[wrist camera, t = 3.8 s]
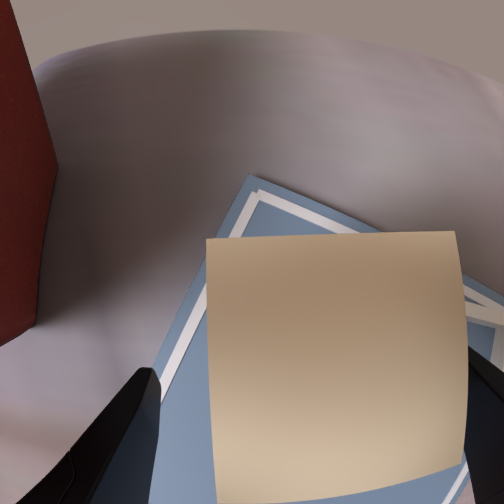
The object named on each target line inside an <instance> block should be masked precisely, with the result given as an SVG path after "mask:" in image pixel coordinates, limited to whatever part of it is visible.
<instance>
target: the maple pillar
mask: <svg viewBox="0 0 504 504" xmlns="http://www.w3.org/2000/svg"><path fill="white" fill-rule="evenodd" d="M206 294H207V340H208V369H209V392H210V412H211V429H212V444H213V459H214V472H215V484H216V495H217V504H267V503H285V502H298V501H308V500H317V499H324V498H332V497H338V496H344V495H350V494H356V493H361V492H366V491H371V490H375V489H380V488H384V487H388V486H392V485H396V484H400V483H403V482H407V481H411V480H414V479H417V478H421V477H424V476H427V475H430V474H433V473H436V472H439V471H442V470H445V469H448V468H450V467H453V466H456V465H458V464H461V462H462V455H463V447H464V439H465V429H466V416H467V399H468V339H467V321H466V308H465V298H464V289H463V280H462V273H461V266H460V259H459V253H458V247H457V241H456V236H455V231H423V232H381V233H346V234H315V235H287V236H261V237H237V238H214V239H206Z"/></svg>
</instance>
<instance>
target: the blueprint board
mask: <svg viewBox="0 0 504 504" xmlns="http://www.w3.org/2000/svg"><path fill="white" fill-rule="evenodd" d="M346 233H381V231H379V230H377V229H375V228H373V227H371V226H369V225H366V224H364V223H362V222H360V221H358V220H356V219H354V218H351V217H349V216H347V215H345V214H343V213H340V212H338V211H336V210H334V209H332V208H329V207H327V206H325V205H322V204H320V203H318V202H316V201H313V200H311V199H309V198H306V197H304V196H302V195H299V194H297V193H295V192H292V191H290V190H287V189H285V188H283V187H280V186H278V185H275V184H273V183H270V182H268V181H266V180H263V179H261V178H258V177H256V176H253V175H250V174H248V175H247V177H246V179H245V181H244V183H243V185H242V187H241V189H240V190H239V192H238V194H237V196H236V198H235V200H234V202H233V204H232V206H231V207H230V209H229V211H228V213H227V215H226V217H225V219H224V221H223V223H222V225H221V227H220V229H219V231H218V233H217V235H216V236H215V238H237V237H261V236H287V235H315V234H346ZM462 280H463V289H464V298H465V301H467V302H470V303H474V304H477V305H481V306H484V307H488V308H491V309H495V310H498V311H502V312H504V296H502V295H500V294H498V293H497V292H495V291H493V290H492V289H490V288H488V287H486V286H485V285H483V284H481V283H479V282H477V281H476V280H474V279H472V278H470V277H469V276H467V275H465V274H463V273H462ZM495 330H496V329H495V328H491V327H487V326H483V325H479V324H475V323H471V322H467V339H468V346H470V347H471V348H472V349H474V350H475V351H476V352H478V353H479V354H480V355H482V356H483V357H484V358H486V359H487V360H488V361H490V358H491V353H492V348H493V342H494V336H495ZM152 368H153V369H154V370H155V372H156V374H157V377H158V379H159V381H160V384H161V390H162V392H161V407H160V425H159V438H158V444H157V450H156V456H155V462H154V468H153V475H152V481H151V488H150V495H149V502H148V504H217V495H216V484H215V472H214V459H213V444H212V429H211V412H210V392H209V369H208V340H207V294H206V256H205V258H204V260H203V262H202V264H201V266H200V268H199V270H198V272H197V274H196V276H195V278H194V280H193V282H192V284H191V286H190V288H189V290H188V292H187V294H186V296H185V299H184V301H183V303H182V305H181V307H180V309H179V311H178V313H177V315H176V317H175V319H174V321H173V323H172V326H171V328H170V330H169V332H168V334H167V336H166V338H165V340H164V342H163V345H162V347H161V349H160V351H159V353H158V355H157V357H156V360H155V362H154V364H153V366H152ZM469 479H470V474H469V469H468V465H467V461H466V457H465V453H464V449H463V455H462V462H461V464H458V465H456V466H453V467H450V468H448V469H445V470H442V471H439V472H436V473H433V474H430V475H427V476H424V477H421V478H417V479H414V480H411V481H407V482H403V483H400V484H396V485H392V486H388V487H384V488H380V489H375V490H371V491H366V492H361V493H356V494H350V495H344V496H338V497H332V498H324V499H317V500H308V501H298V502H285V503H267V504H455V502H456V501H457V499H458V498H459V496H460V494H461V493H462V491H463V489H464V487H465V486H466V484H467V482H468V480H469Z"/></svg>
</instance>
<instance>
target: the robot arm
mask: <svg viewBox="0 0 504 504" xmlns="http://www.w3.org/2000/svg"><path fill="white" fill-rule="evenodd" d="M161 392H162V390H161V384H160V381H159V379H158V377H157V374H156V372H155V370H154V369H153V368H147V367H141V368H139V369H138V370H137V371H136V372H135V373H134V375H133V376H132V377H131V378H130V379H129V380H128V382H127V383H126V384H125V385H124V386H123V387H122V389H121V390H120V391H119V392H118V393H117V394H116V396H115V397H114V398H113V399H112V400H111V401H110V403H109V404H108V405H107V406H106V407H105V408H104V410H103V411H102V412H101V413H100V414H99V415H98V417H97V418H96V419H95V420H94V421H93V423H92V424H91V425H90V426H89V427H88V428H87V430H86V431H85V432H84V433H83V434H82V435H81V437H80V438H79V439H78V440H77V441H76V443H75V444H74V445H73V446H72V447H71V448H70V451H68V452H67V453H66V454H65V455H64V457H63V458H62V459H61V460H60V461H59V462H58V463H57V465H56V466H55V467H54V468H53V469H52V470H51V471H50V472H49V473H48V474H47V475H46V476H45V477H44V478H43V479H42V480H41V481H40V482H39V483H38V484H37V485H36V486H35V487H33V488H32V489H31V490H30V491H29V492H28V493H27V494H26V495H25V496H24V497H23V498H21V499H20V500H19V501H18V502H17V503H16V504H148V502H149V495H150V488H151V481H152V475H153V468H154V462H155V456H156V450H157V444H158V438H159V425H160V407H161ZM463 449H464V453H465V457H466V461H467V465H468V469H469V474H470V478H471V483H472V488H473V493H474V498H475V504H504V372H503V371H501V370H500V369H499V368H498V367H496V366H495V365H494V364H492V363H491V362H490V361H488V360H487V359H486V358H484V357H483V356H482V355H480V354H479V353H478V352H476V351H475V350H474V349H472V348H471V347H470V346H468V399H467V416H466V429H465V439H464V447H463Z"/></svg>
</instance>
